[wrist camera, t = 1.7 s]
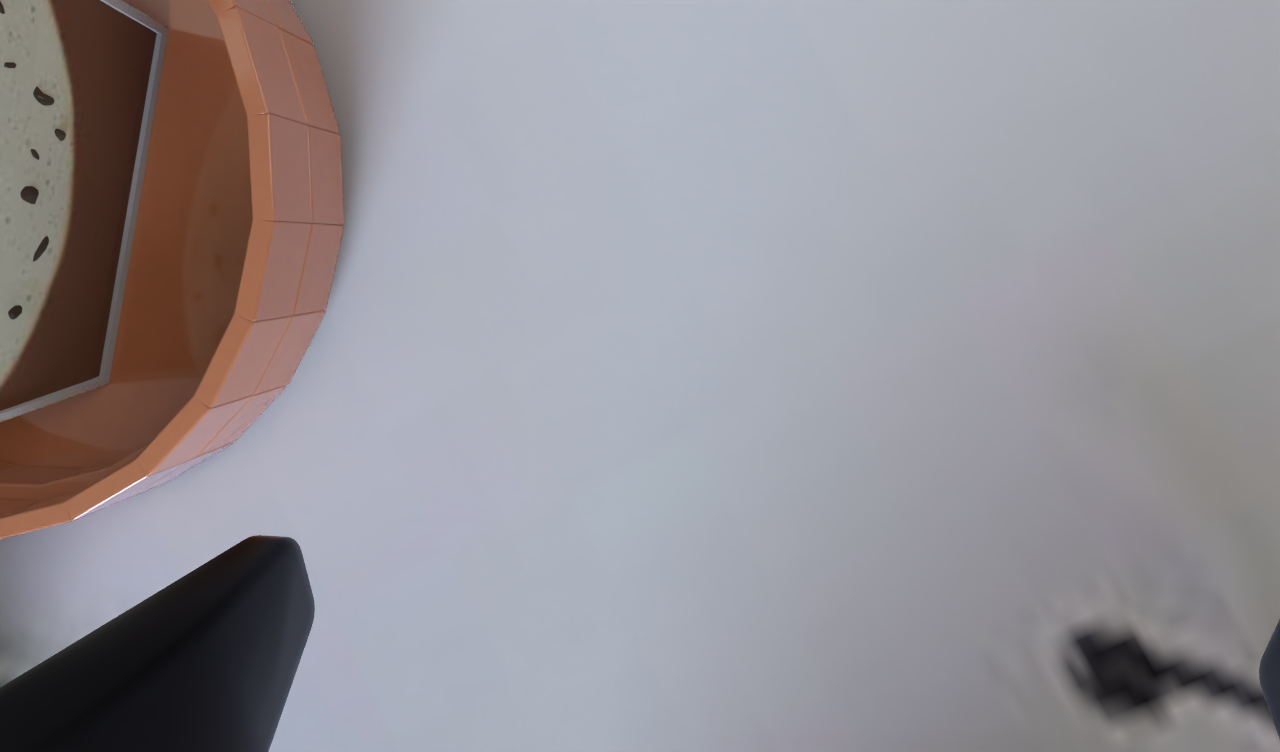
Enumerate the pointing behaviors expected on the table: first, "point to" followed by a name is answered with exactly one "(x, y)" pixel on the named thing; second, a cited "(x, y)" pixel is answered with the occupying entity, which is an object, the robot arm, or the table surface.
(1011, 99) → the table surface
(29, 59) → the food container
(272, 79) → the basin
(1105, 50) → the table surface
